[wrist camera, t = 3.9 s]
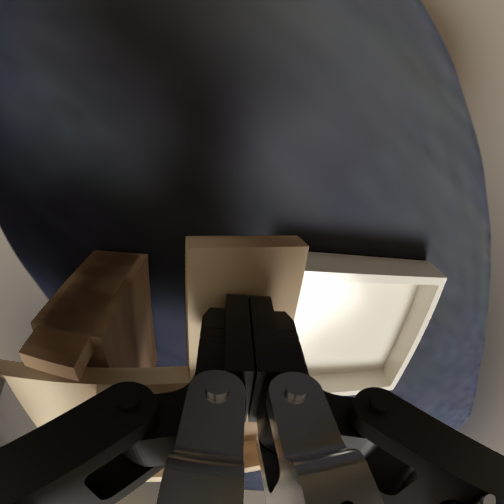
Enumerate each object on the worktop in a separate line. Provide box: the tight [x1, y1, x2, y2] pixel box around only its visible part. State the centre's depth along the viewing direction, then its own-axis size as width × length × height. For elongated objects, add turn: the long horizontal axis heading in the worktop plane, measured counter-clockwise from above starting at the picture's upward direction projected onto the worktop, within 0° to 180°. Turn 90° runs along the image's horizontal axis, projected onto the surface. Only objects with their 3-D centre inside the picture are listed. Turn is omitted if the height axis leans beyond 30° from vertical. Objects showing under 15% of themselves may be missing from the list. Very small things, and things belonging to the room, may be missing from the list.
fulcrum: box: [19, 250, 158, 381], centre depth 16 cm, size 4×10×10 cm, turn 174°
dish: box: [294, 252, 447, 396], centre depth 21 cm, size 12×12×3 cm
